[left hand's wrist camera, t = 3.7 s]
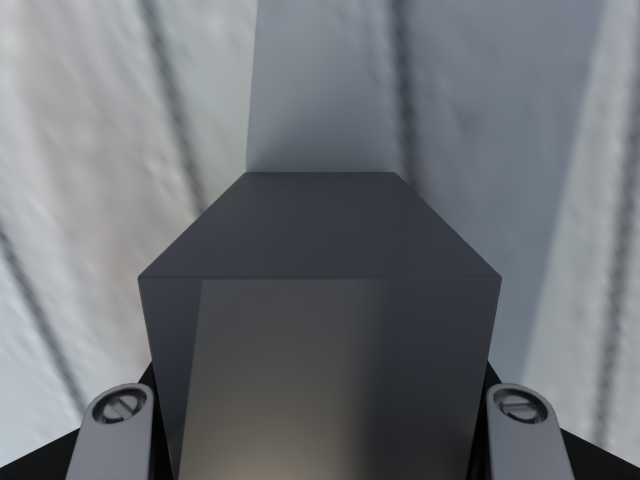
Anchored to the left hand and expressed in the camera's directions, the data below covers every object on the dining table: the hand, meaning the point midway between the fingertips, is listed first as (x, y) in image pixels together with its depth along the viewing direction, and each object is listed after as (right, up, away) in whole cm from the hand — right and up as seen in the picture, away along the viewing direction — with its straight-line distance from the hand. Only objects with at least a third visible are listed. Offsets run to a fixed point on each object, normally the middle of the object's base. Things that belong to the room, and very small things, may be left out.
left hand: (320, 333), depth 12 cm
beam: (0, -33, +16) cm, 36 cm away
